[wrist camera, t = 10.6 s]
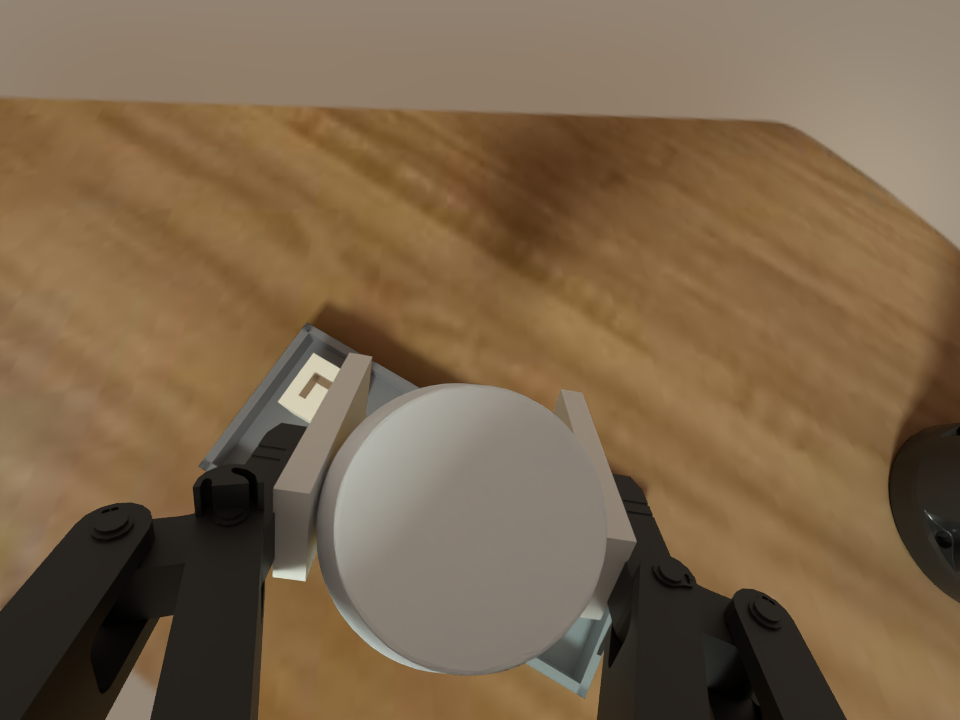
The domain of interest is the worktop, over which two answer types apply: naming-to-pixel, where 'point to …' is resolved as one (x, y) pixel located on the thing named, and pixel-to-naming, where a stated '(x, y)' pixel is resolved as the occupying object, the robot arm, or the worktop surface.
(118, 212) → the worktop surface
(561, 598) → the pill bottle
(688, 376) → the worktop surface
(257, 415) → the charcoal tray
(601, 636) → the slate tray
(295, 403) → the letter cube
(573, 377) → the worktop surface
